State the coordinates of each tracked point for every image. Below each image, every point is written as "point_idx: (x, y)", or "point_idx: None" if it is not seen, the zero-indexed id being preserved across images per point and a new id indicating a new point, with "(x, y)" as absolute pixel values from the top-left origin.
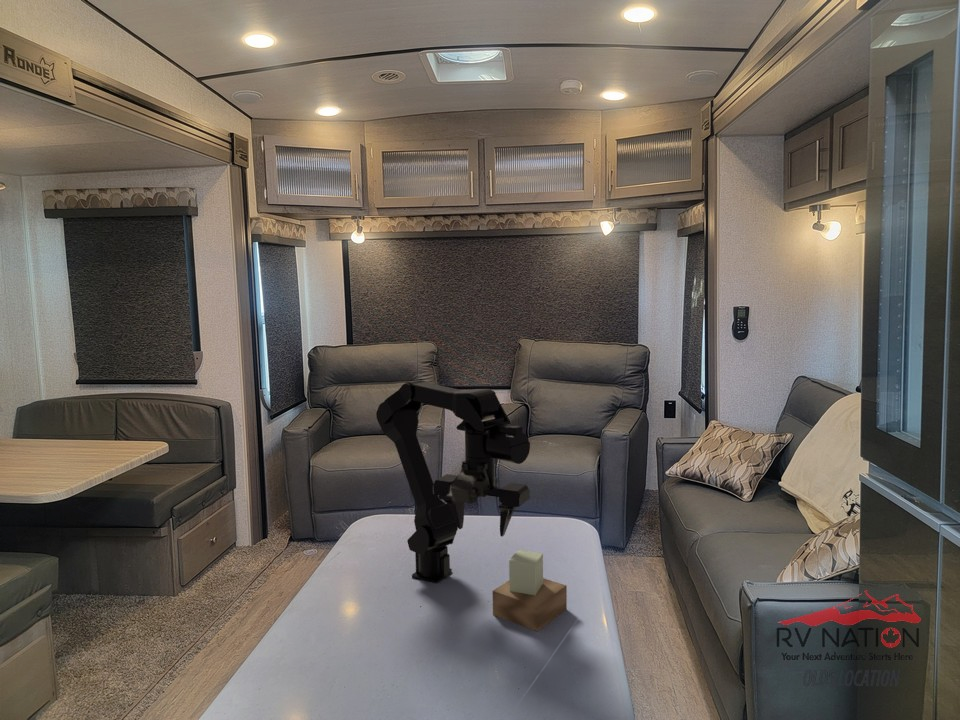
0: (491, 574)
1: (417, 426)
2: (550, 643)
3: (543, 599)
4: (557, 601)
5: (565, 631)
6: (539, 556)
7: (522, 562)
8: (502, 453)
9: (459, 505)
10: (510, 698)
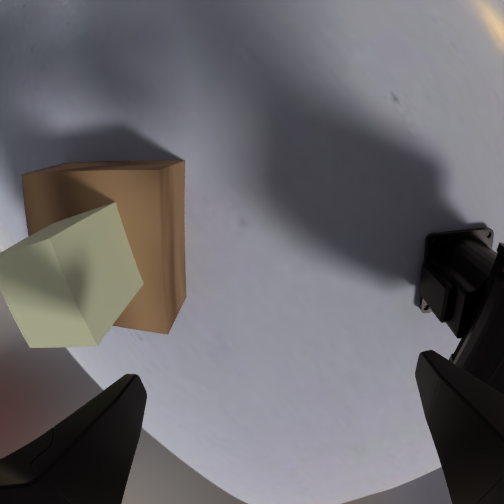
0: (320, 347)
1: None
2: (29, 144)
3: (30, 215)
4: None
5: None
6: (18, 322)
7: (13, 250)
8: None
9: (483, 481)
10: None
